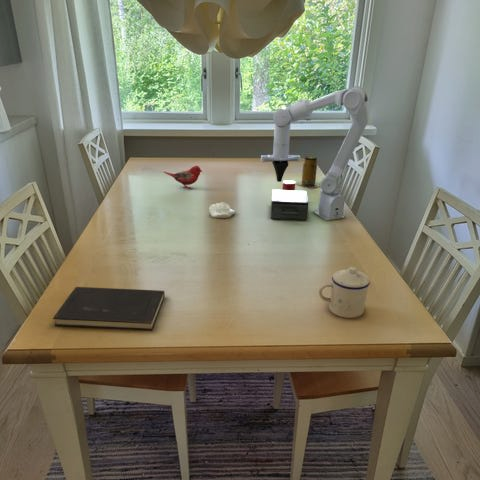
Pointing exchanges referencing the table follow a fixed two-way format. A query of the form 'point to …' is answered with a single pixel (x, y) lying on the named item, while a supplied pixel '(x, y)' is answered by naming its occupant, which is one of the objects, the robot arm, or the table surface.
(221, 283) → the table surface
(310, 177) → the condiment
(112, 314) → the hardcover book
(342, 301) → the teacup with lid
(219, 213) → the white lumpy piece
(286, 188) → the can
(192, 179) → the decorative bird figurine
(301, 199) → the cabinet
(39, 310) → the table surface
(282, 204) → the drawer
